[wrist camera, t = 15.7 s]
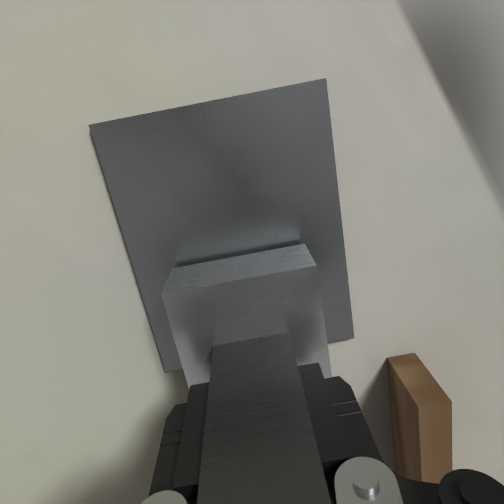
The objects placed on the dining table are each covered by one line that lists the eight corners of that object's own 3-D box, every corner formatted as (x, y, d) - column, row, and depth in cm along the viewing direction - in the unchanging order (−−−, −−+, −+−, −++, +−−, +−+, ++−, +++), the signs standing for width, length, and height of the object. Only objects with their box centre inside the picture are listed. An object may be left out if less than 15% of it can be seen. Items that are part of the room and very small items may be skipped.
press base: (166, 367, 16) (165, 371, 16) (91, 125, 13) (88, 125, 13) (352, 334, 16) (354, 337, 16) (323, 79, 13) (326, 78, 13)
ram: (230, 481, 18) (223, 905, 8) (171, 268, 14) (38, 581, 5) (336, 463, 18) (454, 872, 8) (304, 243, 14) (450, 513, 4)
